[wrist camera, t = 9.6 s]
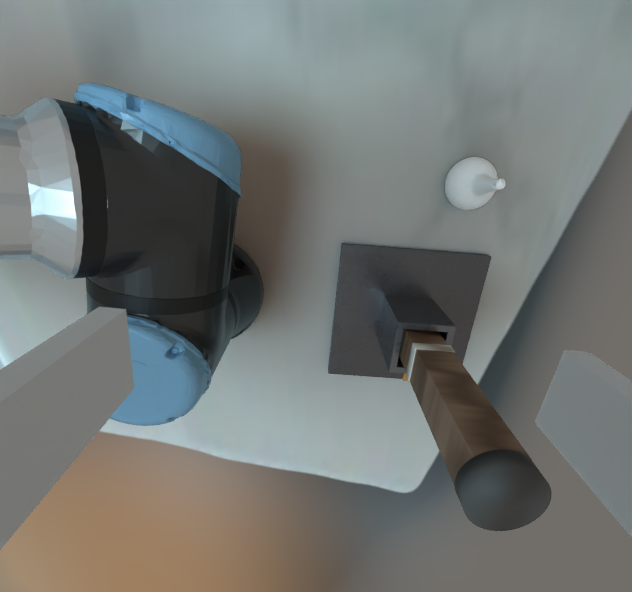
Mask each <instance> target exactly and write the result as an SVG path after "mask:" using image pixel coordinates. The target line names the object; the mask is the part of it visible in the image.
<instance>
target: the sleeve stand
mask: <svg viewBox="0 0 632 592" xmlns="http://www.w3.org/2000/svg"><path fill="white" fill-rule="evenodd" d="M490 260H491V257H490V256H488V255H484V254H471V253H459V252H447V251H434V250H422V249H409V248H397V247H385V246H372V245H360V244H347V243H342V246H341V255H340V265H339V274H338V283H337V292H336V302H335V311H334V320H333V329H332V338H331V348H330V357H329V366H328V373H330V374H343V375H357V376H371V377H385V378H399V379H403V380H406V381H408V380H407V378H406V371H405V369H404V366H403V364H402V362H401V359H400V357H399V352H400V347H401V341H402V336H403V331H404V329H412V330H425V331H438V332H439V333H440V335H441V336H442V337H443V339H444V340H445V341H446V343H447V344H448V345H451V346H452V348H453V349H454V350H455V352H454V354H455V355H456V357H457V358H458V359H459V361H460V362H461V363H463V359H464V356H465V352H466V348H467V345H468V341H469V337H470V334H471V330H472V326H473V323H474V319H475V315H476V311H477V308H478V304H479V300H480V297H481V293H482V289H483V286H484V282H485V278H486V274H487V271H488V267H489V263H490Z"/></svg>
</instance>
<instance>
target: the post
mask: <svg viewBox="0 0 632 592" xmlns="http://www.w3.org/2000/svg"><path fill="white" fill-rule="evenodd" d="M454 352H455V350H454V349H453V348H452V346H451V345H448V344H447V343H446V341H445V340H444V339H443V337H442V336H441V335H440V333H439V332H438V331H425V330H412V329H404V331H403V336H402V341H401V347H400V352H399V357H400V359H401V362H402V364H403V366H404V369H405V371H406V378H407V380H408V382H410V383H411V385H412V387H413V390H414V392H415V394H416V397H417V399H418V401H419V404H420V406H421V408H422V411H423V413H424V415H425V418H426V420H427V422H428V425H429V427H430V429H431V432H432V434H433V436H434V439H435V441H436V443H437V446H438V448H439V450H440V453H441V455H442V457H443V460H444V462H445V464H446V467H447V469H448V471H449V474H450V476H451V478H452V481H453V483H454V486H455V490H456V493H457V495H458V498H459V500H460V502H461V504H462V507H463V510H464V512H465V514H466V516H467V518H468V519H469V520H470V521H471V522H472V523H473V524H475V525H476V526H478V527H481V528H484V529H487V530H494V531H506V530H512V529H516V528H520V527H523V526H525V525H527V524H529V523H531V522H532V521H534V520H536V519H537V518H538V517H540V516H541V515H542V514H543V513H544V511H545V510H546V509H547V507H548V505H549V503H550V500H551V488H550V486H549V484H548V482H547V481H546V479H545V478H544V477H543V475H542V474H541V473H540V471H539V470H538V469H537V467H536V466H535V464H534V463H533V462H532V459H531V458H530V457H529V455H528V454H527V453H526V451H525V450H524V448H523V447H522V446H521V444H520V443H519V442H518V440H517V439H516V438H515V436H514V435H513V433H512V432H511V431H510V429H509V428H508V427H507V425H506V424H505V422H504V421H503V420H502V418H501V417H500V416H499V415H498V413H497V412H496V410H495V409H494V407H493V406H492V405H491V403H490V402H489V401H488V399H487V398H486V396H485V395H484V394H483V392H482V391H481V390H480V388H479V387H478V385H477V384H476V383H475V381H474V380H473V379H472V377H471V376H470V374H469V373H468V372H467V370H466V369H465V368H464V366H463V365H462V363H461V362H460V361H459V359H458V358H457V357H456V355H455V354H454Z"/></svg>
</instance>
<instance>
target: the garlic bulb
mask: <svg viewBox="0 0 632 592" xmlns="http://www.w3.org/2000/svg"><path fill="white" fill-rule="evenodd" d="M503 180H504V179H498V176H497V172H496V170H495V168H494V166H493V165H492V164H491V163H490V162H489V161H487V160H485V159H483V158H479V157H470V158H466V159H463V160H461V161H459V162H458V163H456V164H455V165H454V166H453V167H452V168H451V170H450V171H449V173H448V175H447V177H446V181H445V193H446V196H447V198H448V200H449V201H450V203H451V204H453V205H454V206H455V207H457V208H459V209H463V210H473V209H477V208H479V207H481V206H483V205H484V204H486V203H487V202H488V201H489V200H490V199H491V198H492V196H493V195H494V193H495V191H496V190H502V189H503V188H504V187H505V185H506V183H505V181H503Z"/></svg>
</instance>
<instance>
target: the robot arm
mask: <svg viewBox="0 0 632 592" xmlns="http://www.w3.org/2000/svg"><path fill="white" fill-rule="evenodd" d="M74 100H75V103H76V104H74V103H69V102H65V101H61V100H56V99H52V98H47V97H43V98H41V99H40V100H38V101H37V102H35V103H34V104H32V105H31V106H29V107H28V108H26V109H25V110H24V111H22V112H21V113H19V114H17V115H13V116H9V117H8V116H3V115H0V259H24V258H28V259H31V260H34V261H37V262H39V263H40V264H42V265H43V266H45V267H46V268H48V269H50V270H51V271H53V272H54V273H56V274H57V275H59V276H60V277H62V278H66V279H71V278H83V277H86V289H87V315H85V316H84V317H82V318H81V319H79V320H78V321H76V322H74V323H73V324H71V325H70V326H68V327H67V328H65V329H63V330H62V331H60V332H59V333H57V334H56V335H54V336H53V337H51V338H49V339H48V340H46V341H45V342H43V343H42V344H40V345H38V346H37V347H35V348H34V349H32V350H31V351H29V352H28V353H26V354H24V355H23V356H21V357H20V358H18V359H17V360H15V361H13V362H12V363H10V364H9V365H7V366H6V367H4V368H3V369H1V370H0V550H1V548H2V547H3V546H4V545H5V544H6V542H7V541H8V540H9V539H10V538H11V536H12V535H13V534H14V533H15V531H16V530H17V529H18V528H19V526H20V525H21V524H22V523H23V522H24V521H25V519H26V518H27V517H28V516H29V515H30V513H31V512H32V511H33V510H34V508H35V507H36V506H37V505H38V504H39V503H40V501H41V500H42V499H43V497H45V495H46V494H47V493H48V492H49V491H50V489H51V488H52V487H53V486H54V484H55V483H56V482H57V481H58V480H59V478H60V477H61V476H62V475H63V474H64V472H65V471H66V470H67V469H68V468H69V466H70V465H71V464H72V463H73V462H74V460H75V459H76V458H77V457H78V455H79V454H80V453H81V452H82V451H83V450H84V448H85V447H86V446H87V445H88V443H89V442H90V441H91V440H92V439H93V437H94V436H95V435H96V434H97V433H98V431H99V430H100V429H101V428H102V427H103V425H104V424H105V423H106V422H107V421H108V419H109V418H110V419H113V420H116V421H119V422H122V423H127V424H132V425H142V426H149V425H160V424H165V423H168V422H171V421H174V420H175V419H176V418H179V417H181V416H184V415H185V414H187V413H188V412H189V411H190V410H191V409H192V408H193V407H194V406H195V405H196V403H197V402H198V400H199V399H200V397H201V396H202V395H203V394H204V393H205V391H206V390H207V389H208V388H209V384H210V383H211V377H212V375H213V373H214V371H215V369H216V367H217V365H218V363H219V361H220V359H221V357H222V355H223V353H224V351H225V349H226V347H227V345H228V343H229V341H230V339H233V338H235V337H237V336H238V335H240V334H241V333H243V332H244V331H245V330H246V329H247V328H248V327H249V326H250V325H251V324H252V323H253V321H254V320H255V318H256V316H257V314H258V312H259V309H260V307H261V304H262V299H263V284H262V279H261V276H260V273H259V271H258V269H257V267H256V265H255V263H254V262H253V261H252V259H251V258H250V257H249V256H248V255H247V254H246V253H245V252H244V251H243V250H242V249H241V248H239V247H238V246H236V245H235V244H234V234H235V225H236V216H237V207H238V198H241V196H242V192H241V189H240V176H241V161H242V160H241V152H240V149H239V147H238V145H237V144H236V142H235V141H234V140H233V139H232V138H231V137H230V136H229V135H228V134H227V133H225V132H224V131H222V130H220V129H219V128H217V127H215V126H213V125H211V124H209V123H207V122H205V121H202V120H200V119H198V118H196V117H193V116H191V115H188V114H186V113H184V112H181V111H179V110H176V109H173V108H171V107H168V106H166V105H163V104H160V103H157V102H154V101H151V100H148V99H140V98H139V97H137V96H135V95H131V94H128V93H126V92H123V91H121V90H118V89H115V88H111V87H108V86H104V85H100V84H95V83H82V84H80V85H79V86H78V89H77V92H76V93H75V94H74ZM535 424H536V425H537V426H538V427H539V428H540V429H541V431H542V432H543V433H544V434H545V435H546V437H547V438H548V439H549V440H550V441H551V442H552V444H553V445H554V446H555V447H556V448H557V449H558V451H559V452H560V453H561V454H562V455H563V457H564V458H565V459H566V460H567V461H568V462H569V464H570V465H571V466H572V467H573V468H574V470H575V471H576V472H577V473H578V474H579V475H580V477H581V478H582V479H583V480H584V481H585V482H586V484H587V485H588V486H589V487H590V489H591V490H592V491H593V492H594V493H595V494H596V495H597V496H598V498H599V499H600V500H601V501H602V503H603V504H604V505H605V506H606V507H607V508H608V510H609V511H610V512H611V513H612V514H613V516H614V517H615V518H616V519H617V520H618V521H619V523H620V524H621V525H622V526H623V527H624V528H625V530H626V531H627V532H628V533H629V535H630V536H631V537H632V381H630V380H629V379H627V378H626V377H624V376H623V375H622V374H620V373H619V372H617V371H616V370H614V369H613V368H611V367H610V366H608V365H607V364H605V363H604V362H602V361H601V360H600V359H598V358H597V357H595V356H594V355H592V354H591V353H589V352H581V351H570V350H564V353H563V355H562V357H561V360H560V362H559V365H558V367H557V369H556V372H555V374H554V377H553V379H552V382H551V384H550V387H549V389H548V391H547V394H546V397H545V399H544V401H543V403H542V406H541V408H540V411H539V413H538V416H537V418H536V420H535Z"/></svg>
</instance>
